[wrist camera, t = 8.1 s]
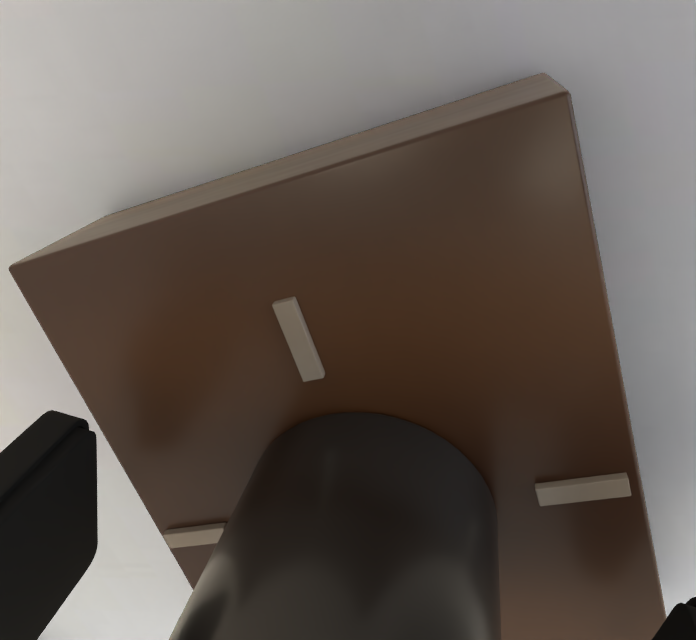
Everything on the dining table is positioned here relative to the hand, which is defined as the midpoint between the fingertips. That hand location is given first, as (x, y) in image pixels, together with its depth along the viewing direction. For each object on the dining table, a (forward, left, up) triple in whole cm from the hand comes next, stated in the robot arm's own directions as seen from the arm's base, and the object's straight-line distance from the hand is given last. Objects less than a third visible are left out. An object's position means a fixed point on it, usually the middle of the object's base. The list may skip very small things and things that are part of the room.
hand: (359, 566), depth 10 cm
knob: (0, 0, -1) cm, 1 cm away
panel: (0, 0, -4) cm, 4 cm away
